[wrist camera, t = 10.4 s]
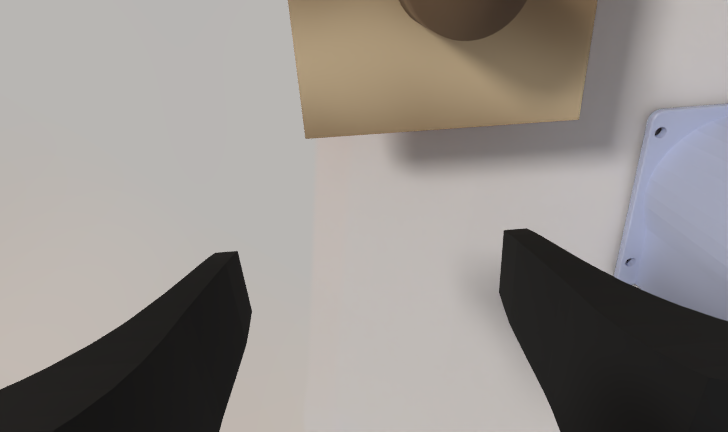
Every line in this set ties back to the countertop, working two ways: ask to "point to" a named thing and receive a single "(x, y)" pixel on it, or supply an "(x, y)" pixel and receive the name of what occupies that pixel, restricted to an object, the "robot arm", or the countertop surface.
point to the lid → (438, 63)
